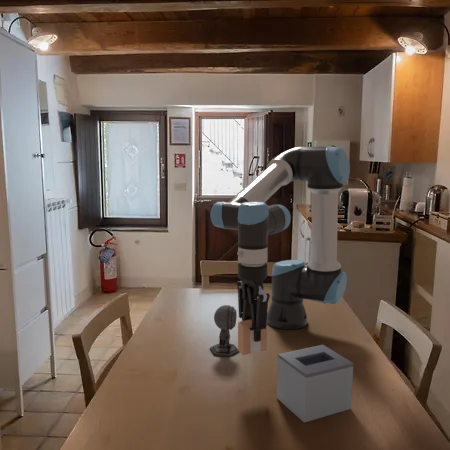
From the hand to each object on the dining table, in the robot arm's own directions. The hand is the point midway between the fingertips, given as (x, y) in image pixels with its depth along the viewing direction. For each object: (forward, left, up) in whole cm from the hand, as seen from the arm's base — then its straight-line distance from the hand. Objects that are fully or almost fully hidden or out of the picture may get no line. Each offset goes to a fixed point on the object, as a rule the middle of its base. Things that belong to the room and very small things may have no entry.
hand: (251, 348), depth 121 cm
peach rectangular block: (0, 0, 0) cm, 0 cm away
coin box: (-11, +13, -11) cm, 20 cm away
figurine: (-4, -24, -11) cm, 27 cm away
